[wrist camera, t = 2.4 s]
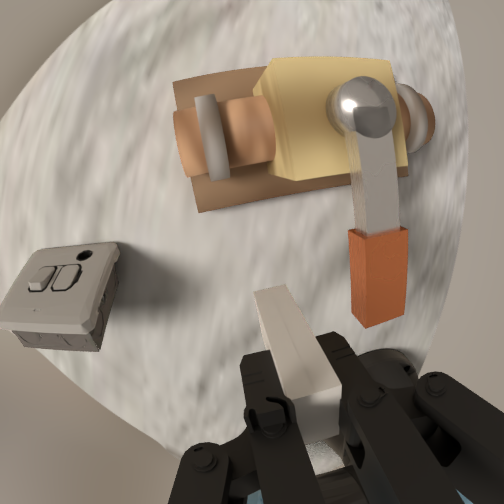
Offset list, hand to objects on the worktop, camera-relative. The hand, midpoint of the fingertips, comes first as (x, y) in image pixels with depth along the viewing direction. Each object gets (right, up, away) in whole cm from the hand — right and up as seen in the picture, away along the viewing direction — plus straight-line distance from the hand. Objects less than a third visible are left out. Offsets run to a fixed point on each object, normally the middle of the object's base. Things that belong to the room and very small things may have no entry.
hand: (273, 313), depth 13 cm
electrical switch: (-16, +1, +9) cm, 19 cm away
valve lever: (+5, +5, +1) cm, 7 cm away
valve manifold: (+3, +13, +8) cm, 15 cm away
